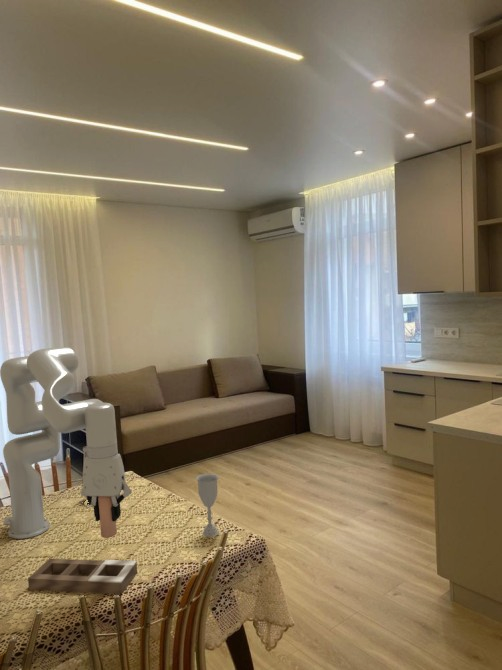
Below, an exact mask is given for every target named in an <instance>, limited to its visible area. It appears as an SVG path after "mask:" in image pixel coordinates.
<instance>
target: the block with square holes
mask: <svg viewBox="0 0 502 670" xmlns="http://www.w3.org/2000/svg"><path fill="white" fill-rule="evenodd" d="M137 574H138V563H137V560H121V559H105V560H101V559H100V560H99V559H97V560H93V559H73V558H72V559H71V558H69V559H68V558H48V559H47V560H46V561H45V562H44V563H43V564H42V565H41V566H40V567H39V568H38V569H36V570H35V572H34V573H32V574H31V575H30V576H29V577H28V578H27V583H28V590H32V591H33V590H34V591H35V590H36V591H52V592H72V593H89V592H90V593H91V594H92V593H94V594H109V595H110V594H111V593H115V594H114V595H119V594H118V593H121V594H120V595H123V594H122V593H124V592H125V591H126V589H127V588H128V587H129V585H130V583H131V582H132V581H133V580H134V578H135V576H136V575H137ZM87 575H88V576H87ZM111 595H112V594H111Z"/></svg>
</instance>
